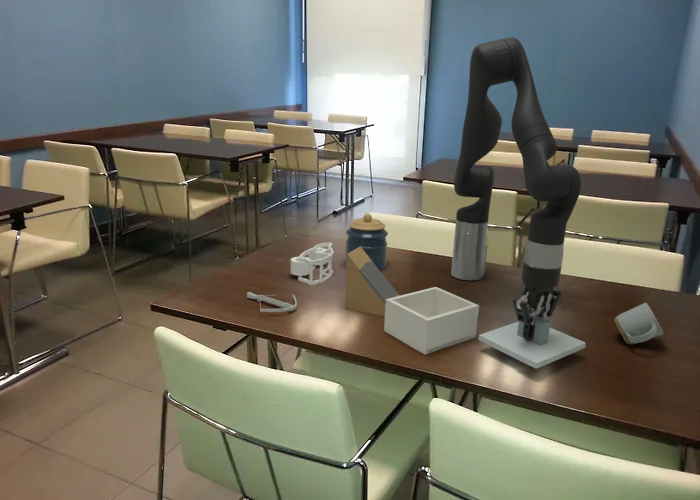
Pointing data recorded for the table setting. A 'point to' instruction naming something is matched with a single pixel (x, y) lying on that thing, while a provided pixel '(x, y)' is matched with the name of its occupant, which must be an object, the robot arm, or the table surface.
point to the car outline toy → (313, 263)
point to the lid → (532, 343)
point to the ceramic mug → (638, 324)
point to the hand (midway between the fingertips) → (532, 337)
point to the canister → (368, 239)
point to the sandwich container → (366, 285)
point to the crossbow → (263, 297)
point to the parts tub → (431, 319)
